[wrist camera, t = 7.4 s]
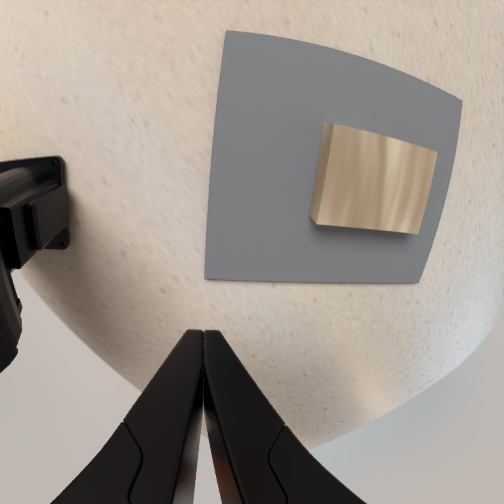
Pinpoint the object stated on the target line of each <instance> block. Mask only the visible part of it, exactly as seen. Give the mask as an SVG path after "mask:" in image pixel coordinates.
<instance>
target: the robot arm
mask: <svg viewBox="0 0 504 504" xmlns="http://www.w3.org/2000/svg"><path fill="white" fill-rule="evenodd" d="M55 160H56V161H57V163H58V164H57V167H56V166H55V164H54V161H55ZM68 224H69V216H68V205H67V193H66V188H65V186H64V167H63V159H62V157H60V156H58V155H56V156H44V157H34V158H24V159H16V160H8V161H1V162H0V373H1V372H2V371H3V370H4V369H5V368H7V367H8V366H9V365H10V364H11V362H12V361H13V359H14V358H15V357H16V355H17V353H18V349H17V347H16V346H17V344H18V341H19V338H20V335H21V332H22V319H21V316H20V314H21V311H22V304H21V301H20V299H19V298H18V297H17V294H16V291H15V287H14V284H13V280H12V277H11V273H12V272H13V270H15V269H21V268H22V267H23V265H24V264H25V263H26V262H27V261H28V260H29V259H30V258H31V257H32V256H33V255H34V254H35V253H37V252H38V251H41V250H42V249H59V250H64V249H66V248H67V247H68V246H69V244H70V238H69V231H68ZM61 240H63V241H64V242H65V244H63V243H62V241H61ZM203 402H204V414H205V420H206V426H207V432H208V438H209V443H210V448H211V454H212V459H213V464H214V469H215V474H216V478H217V483H218V487H219V492H220V496H221V501H222V504H367V503H365V502H364V501H363V500H361V499H360V498H359V497H358V496H357V495H355V494H354V493H353V492H352V491H351V490H349V489H348V488H347V487H346V486H345V485H344V484H342V483H341V482H340V481H339V480H338V479H337V478H336V477H334V476H333V475H332V474H331V473H330V472H329V471H328V470H327V469H325V467H323V466H322V465H321V464H320V463H319V462H318V461H317V460H316V459H315V458H314V457H313V456H312V455H311V454H310V453H309V451H308V450H307V449H306V448H305V447H304V446H303V445H302V443H301V442H300V441H299V440H298V439H297V437H296V436H295V435H294V434H293V432H292V431H291V430H290V428H289V427H288V426H285V422H284V421H283V420H282V418H281V417H280V416H279V414H278V413H277V412H276V410H275V409H274V408H273V406H272V405H271V404H270V402H269V401H268V399H267V398H266V397H265V395H264V394H263V393H262V391H261V390H260V388H259V387H258V386H257V384H256V383H255V382H254V380H253V379H252V377H251V376H250V374H249V373H248V372H247V370H246V369H245V367H244V366H243V364H242V363H241V362H240V360H239V359H238V357H237V356H236V354H235V353H234V351H233V350H232V348H231V347H230V345H229V344H228V342H227V341H226V339H225V338H224V336H223V335H222V333H221V332H220V331H218V330H205V331H204V332H203V331H202V330H196V329H188V330H186V332H185V333H184V334H183V336H182V337H181V339H180V340H179V341H178V343H177V344H176V346H175V347H174V348H173V350H172V351H171V353H170V354H169V355H168V357H167V358H166V360H165V361H164V362H163V364H162V365H161V367H160V368H159V370H158V371H157V372H156V374H155V375H154V377H153V378H152V379H151V381H150V382H149V384H148V385H147V387H146V388H145V389H144V391H143V392H142V394H141V395H140V396H139V398H138V399H137V401H136V402H135V404H134V405H133V406H132V408H131V409H130V411H129V412H128V414H127V415H126V417H125V418H124V419H123V421H124V422H121V423H120V425H119V426H118V428H117V429H116V430H115V432H114V433H113V435H112V436H111V437H110V439H109V440H108V441H107V443H106V444H105V445H104V447H103V448H102V449H101V451H100V452H99V453H98V454H97V455H96V456H95V457H94V458H93V459H92V461H91V462H90V463H89V464H88V465H87V466H86V467H85V468H84V469H83V470H82V472H81V473H80V474H79V475H78V476H77V477H76V478H75V479H74V480H73V481H72V482H71V483H70V484H69V485H68V486H67V487H66V488H65V489H64V490H63V491H62V492H61V494H60V495H59V496H57V497H56V498H55V500H53V501H52V502H51V503H50V504H193V500H194V489H195V479H196V469H197V460H198V451H199V441H200V433H201V425H202V416H203Z"/></svg>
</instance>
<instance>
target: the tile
mask: <svg viewBox="0 0 504 504" xmlns="http://www.w3.org/2000/svg"><path fill="white" fill-rule="evenodd" d="M436 158H437V152H435V151H432V150H429V149H427V148H424V147H420V146H417V145H414V144H411V143H408V142H404V141H401V140H398V139H394V138H391V137H387V136H383V135H380V134H376V133H372V132H368V131H364V130H360V129H356V128H351V127H347V126H342V125H338V124H332V123H324V125H323V132H322V139H321V146H320V153H319V159H318V165H317V172H316V178H315V184H314V190H313V196H312V201H311V207H310V213H309V216H310V217H311V218H312V219H313V221H314V222H315V223H316V224H320V225H332V226H343V227H354V228H364V229H374V230H384V231H394V232H403V233H412V234H418V232H419V229H420V225H421V222H422V218H423V215H424V211H425V207H426V203H427V199H428V195H429V191H430V187H431V182H432V178H433V173H434V168H435V163H436Z"/></svg>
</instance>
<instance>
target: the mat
mask: <svg viewBox="0 0 504 504" xmlns="http://www.w3.org/2000/svg"><path fill="white" fill-rule="evenodd" d="M461 110H462V100H460V99H458V98H457V97H455V96H453V95H451V94H449V93H447V92H445V91H443V90H441V89H439V88H437V87H435V86H433V85H431V84H429V83H427V82H425V81H422V80H420V79H418V78H416V77H413V76H411V75H409V74H406V73H404V72H401V71H399V70H396V69H394V68H391V67H389V66H386V65H383V64H380V63H378V62H375V61H372V60H369V59H366V58H363V57H360V56H357V55H353V54H350V53H347V52H343V51H340V50H336V49H332V48H328V47H325V46H321V45H316V44H312V43H308V42H303V41H298V40H293V39H288V38H282V37H276V36H270V35H263V34H256V33H248V32H239V31H228V30H226V34H225V41H224V49H223V56H222V64H221V72H220V80H219V88H218V97H217V106H216V116H215V126H214V136H213V147H212V159H211V171H210V185H209V199H208V214H207V232H206V252H205V276H204V279H220V280H246V281H280V282H331V283H419V281H420V278H421V276H422V273H423V270H424V268H425V265H426V262H427V259H428V256H429V253H430V250H431V247H432V244H433V241H434V238H435V235H436V231H437V228H438V225H439V221H440V218H441V214H442V210H443V207H444V203H445V199H446V195H447V191H448V187H449V182H450V178H451V173H452V168H453V163H454V158H455V152H456V146H457V140H458V134H459V126H460V119H461ZM324 123H332V124H338V125H342V126H347V127H351V128H356V129H360V130H364V131H368V132H372V133H376V134H380V135H383V136H387V137H391V138H394V139H398V140H401V141H404V142H408V143H411V144H414V145H417V146H420V147H424V148H427V149H429V150H432V151H435V152H437V158H436V163H435V168H434V173H433V178H432V182H431V187H430V191H429V195H428V199H427V203H426V207H425V211H424V215H423V218H422V222H421V225H420V229H419V232H418V234H412V233H403V232H394V231H384V230H374V229H364V228H354V227H343V226H332V225H320V224H316V223H315V222H314V221H313V219H312V218H311V217H310V216H309V213H310V207H311V201H312V196H313V190H314V184H315V178H316V172H317V165H318V159H319V153H320V146H321V139H322V132H323V125H324Z"/></svg>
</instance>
